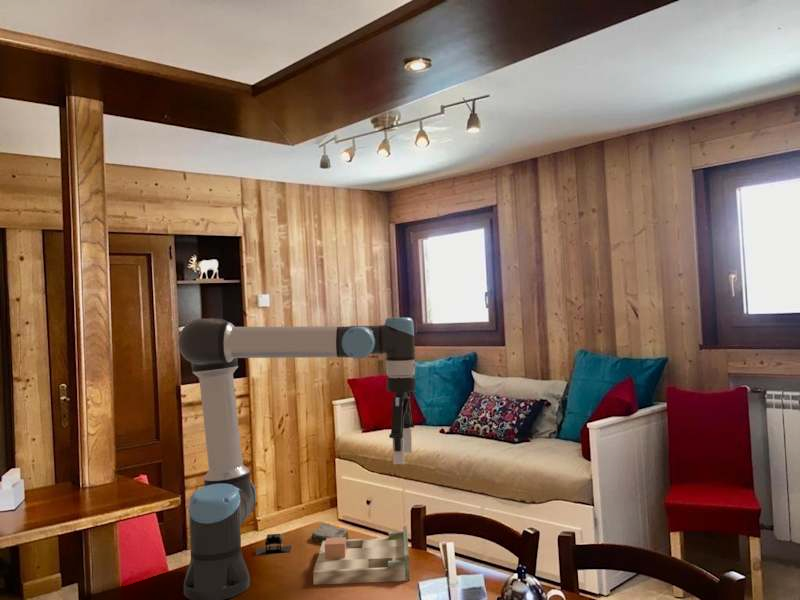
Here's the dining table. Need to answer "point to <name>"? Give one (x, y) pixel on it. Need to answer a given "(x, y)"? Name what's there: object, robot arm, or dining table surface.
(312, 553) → the dining table surface
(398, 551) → the beige divided tray
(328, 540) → the block
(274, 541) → the black bracket on plate
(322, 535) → the stone
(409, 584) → the dining table surface
